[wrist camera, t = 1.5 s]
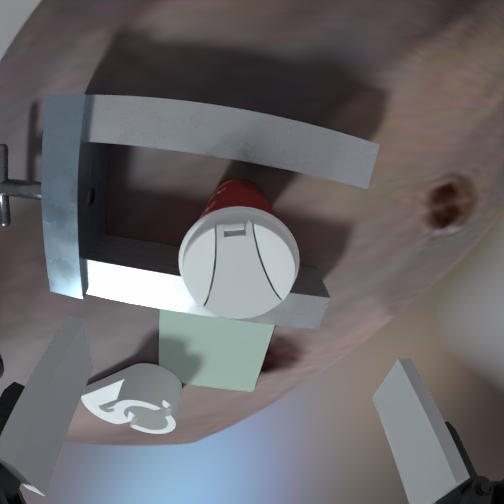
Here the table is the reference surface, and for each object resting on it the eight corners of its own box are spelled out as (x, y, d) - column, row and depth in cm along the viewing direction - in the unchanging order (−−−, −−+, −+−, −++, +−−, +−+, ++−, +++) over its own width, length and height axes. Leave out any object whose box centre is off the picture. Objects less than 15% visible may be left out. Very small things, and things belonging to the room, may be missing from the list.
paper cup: (195, 172, 29) (163, 221, 17) (274, 164, 29) (303, 208, 17) (205, 244, 33) (188, 330, 20) (277, 238, 33) (302, 321, 20)
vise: (23, 248, 32) (-6, 275, 25) (22, 97, 24) (-17, 101, 17) (307, 297, 36) (320, 335, 30) (354, 137, 28) (384, 146, 22)
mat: (159, 376, 41) (158, 379, 41) (161, 300, 36) (160, 303, 35) (252, 388, 43) (253, 391, 43) (275, 317, 37) (276, 320, 37)
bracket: (153, 355, 39) (142, 393, 33) (193, 390, 42) (188, 427, 36) (78, 389, 43) (66, 418, 37) (114, 416, 47) (105, 445, 41)
